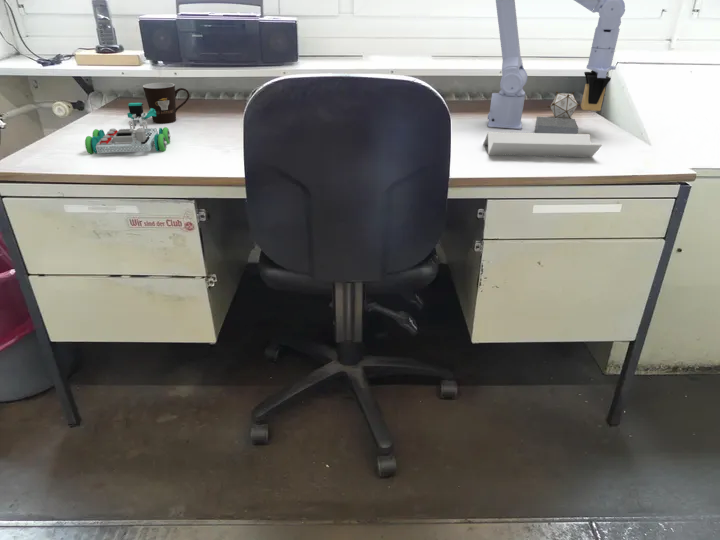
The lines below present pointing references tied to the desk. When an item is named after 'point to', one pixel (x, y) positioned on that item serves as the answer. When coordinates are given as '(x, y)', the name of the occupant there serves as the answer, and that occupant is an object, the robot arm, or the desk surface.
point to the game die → (563, 105)
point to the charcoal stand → (556, 125)
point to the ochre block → (594, 107)
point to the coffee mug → (163, 101)
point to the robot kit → (129, 135)
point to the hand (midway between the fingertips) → (591, 101)
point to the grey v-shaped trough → (540, 144)
